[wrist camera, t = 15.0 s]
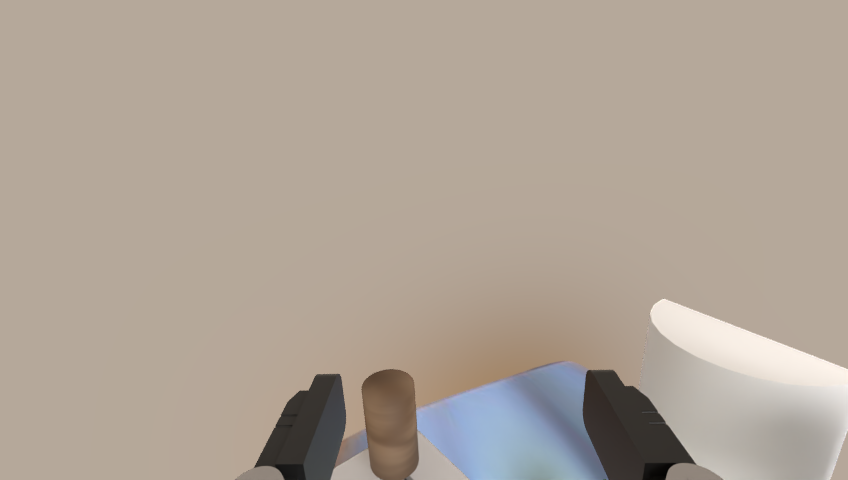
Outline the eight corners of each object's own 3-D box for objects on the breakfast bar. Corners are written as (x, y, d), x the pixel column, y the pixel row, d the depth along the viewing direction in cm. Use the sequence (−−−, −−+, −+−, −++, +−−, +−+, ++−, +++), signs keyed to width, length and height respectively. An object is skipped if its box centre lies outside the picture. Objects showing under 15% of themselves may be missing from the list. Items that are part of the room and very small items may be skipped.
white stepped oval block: (744, 653, 38) (821, 415, 30) (593, 506, 53) (615, 318, 44) (823, 556, 46) (902, 345, 37) (672, 451, 61) (704, 281, 52)
